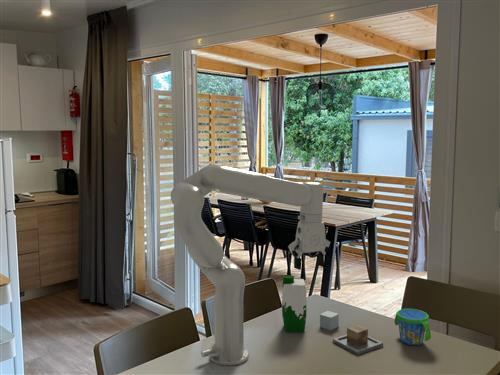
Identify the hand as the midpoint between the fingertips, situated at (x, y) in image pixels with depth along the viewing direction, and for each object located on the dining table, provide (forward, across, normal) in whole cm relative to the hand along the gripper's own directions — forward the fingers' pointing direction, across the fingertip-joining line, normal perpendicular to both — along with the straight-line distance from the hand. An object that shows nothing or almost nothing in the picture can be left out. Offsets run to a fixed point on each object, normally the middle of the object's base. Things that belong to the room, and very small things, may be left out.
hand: (308, 267), depth 167 cm
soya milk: (+27, +4, +12) cm, 30 cm away
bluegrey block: (+26, +16, +6) cm, 31 cm away
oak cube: (+26, +14, -11) cm, 31 cm away
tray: (+26, +14, -11) cm, 32 cm away
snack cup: (+26, +32, -19) cm, 45 cm away
